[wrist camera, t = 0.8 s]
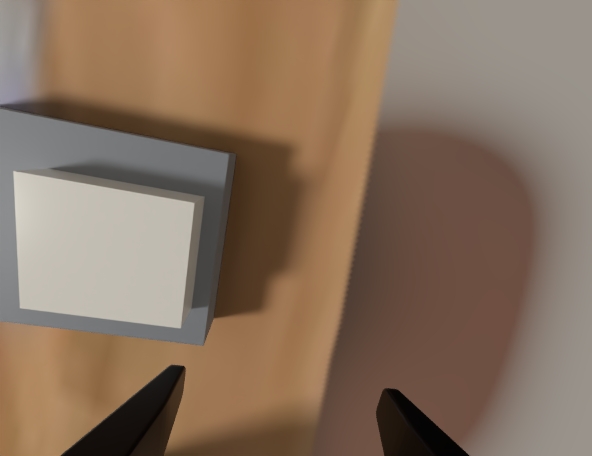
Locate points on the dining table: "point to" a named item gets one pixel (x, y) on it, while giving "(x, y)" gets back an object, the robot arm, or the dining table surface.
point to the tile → (105, 247)
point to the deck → (125, 168)
